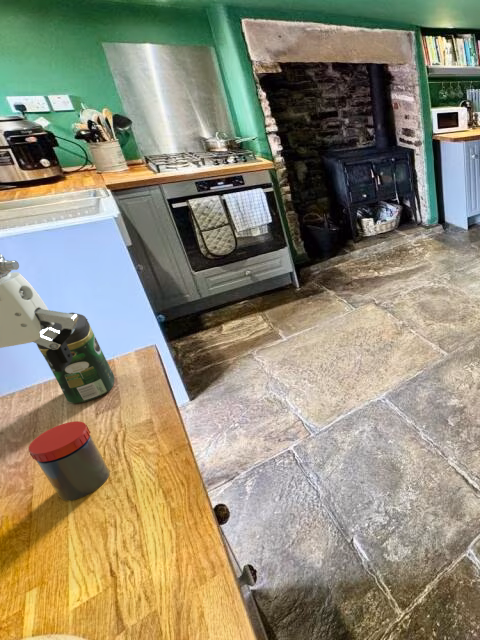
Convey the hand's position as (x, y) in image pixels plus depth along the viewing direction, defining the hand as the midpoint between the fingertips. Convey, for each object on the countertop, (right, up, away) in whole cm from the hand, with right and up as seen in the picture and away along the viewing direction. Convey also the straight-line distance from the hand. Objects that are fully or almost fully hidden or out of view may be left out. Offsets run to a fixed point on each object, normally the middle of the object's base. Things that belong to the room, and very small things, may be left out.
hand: (22, 374), depth 61 cm
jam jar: (-1, -22, +10) cm, 24 cm away
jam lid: (0, -12, +5) cm, 13 cm away
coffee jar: (-21, -13, +30) cm, 39 cm away
